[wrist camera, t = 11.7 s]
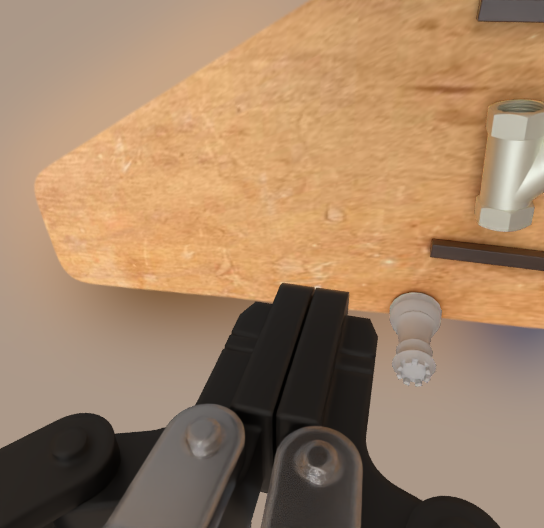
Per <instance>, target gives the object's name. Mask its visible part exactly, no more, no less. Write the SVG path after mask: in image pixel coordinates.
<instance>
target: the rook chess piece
mask: <svg viewBox="0 0 544 528" xmlns="http://www.w3.org/2000/svg"><path fill="white" fill-rule="evenodd" d="M441 315H442V310H441V308H440V305H439V303H438V302H437V301H436V300H435V299H433V298H432V297H430V296H428V295H426V294H423V293H417V292H411V293H407V294H402V295H401V296H399V297H398V298H396V299H395V300H394V301H393V303H392V304H391V306H390V323H391V325H392V327H393V329H394V330H395V331H396V334H397V335H398V339H399V345H398V346H397V349H396V354H397V355H396V356H395V357H394V359H393V362H392V367H393V369H394V371H395V372H396V373H397V377H398V379H401V378H403V383H404V384H406V385H409V384H410V381H411V382H415V386H422V381H425V382H426V383H428V381H429V380H430V377H431V376H432V374H433V373H434V372H435V369H436V364H435V362H434V360H433V358H432V353H433V351H432V349H431V347H430V342H431V338H432V336H433V335H434V334H435V333H436V332H437V330H438V329H439V327H440V324H441Z"/></svg>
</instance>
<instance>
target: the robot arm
mask: <svg viewBox="0 0 544 528" xmlns="http://www.w3.org/2000/svg"><path fill="white" fill-rule="evenodd" d="M348 304H349V292H344V291H337V290H330V289H323V288H316V289H315V288H314V287H308V286H302V285H295V284H288V283H282V284H281V285H280V287H279V290H278V292H277V294H276V297H275V299H274V302H273V304H269V303H262V302H255V303H254V304H252V305H251V306H250V307H249V308H247V309H246V310H245V311H244V312H243V313H242V314H240V316H239V318H238V320H237V322H236V324H235V326H234V328H233V330H232V334H231V335H230V336H229V338H228V340H227V342H226V344H225V349H223V350H222V353H221V354H220V356H219V358H218V361H217V363H216V365H215V367H214V369H213V371H212V373H211V375H210V377H209V379H208V381H207V383H206V385H205V387H204V389H203V391H202V393H201V395H200V397H199V399H198V401H197V403H196V405H195V406H192V407H190V408H187V409H185V410H183V411H182V412H180V413H179V414H178V415H176V416H175V417H174V418H173V419H172V420H171V421H170V422H169V424H168V425H167V426H166V427H165V428H161V429H158V430H152V431H142V432H131V433H118V434H115V433H114V430H113V428H112V426H111V424H110V423H109V422H108V421H107V420H106V419H105V418H103V417H101V416H99V415H96V414H91V413H79V414H74V415H69V416H66V417H64V418H61V419H59V420H57V421H55V422H53V423H51V424H49V425H47V426H45V427H43V428H41V429H39V430H37V431H35V432H33V433H31V434H29V435H27V436H25V437H23V438H21V439H19V440H17V441H15V442H13V443H11V444H9V445H7V446H5V447H3V448H1V449H0V528H251V520H252V517H253V513H254V510H255V507H256V503H257V500H258V496H259V493H260V492H264V493H268V494H267V499H266V504H265V509H264V514H263V519H262V524H261V528H500V527H499V525H498V524H497V523H496V522H495V521H494V520H493V519H492V518H491V517H490V516H489V515H488V514H487V513H486V512H484V511H483V510H482V509H480V508H479V507H477V506H476V505H474V504H472V503H470V502H468V501H466V500H463V499H460V498H457V497H451V496H437V497H432V498H429V499H426V500H424V501H422V500H420V499H418V498H417V497H415V496H413V495H411V494H409V493H408V492H406V491H404V490H402V489H401V488H399V487H397V486H395V485H394V484H392V483H391V482H390V481H389V480H387V479H386V478H385V477H384V476H383V475H382V474H381V473H380V472H379V471H378V470H377V469H376V467H375V466H374V464H373V463H372V461H371V458H370V456H369V454H368V451H367V446H366V432H367V424H368V416H369V407H370V399H371V390H372V381H373V373H374V365H375V357H376V347H377V340H378V336H377V334H376V332H375V329H374V327H373V325H372V323H371V320H370V319H366V318H360V317H354V316H348V315H347V314H348Z"/></svg>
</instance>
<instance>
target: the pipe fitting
mask: <svg viewBox="0 0 544 528" xmlns="http://www.w3.org/2000/svg"><path fill="white" fill-rule="evenodd" d="M486 130H487V132H488V137H487V145H486V152H485V159H484V167H483V174H482V182H481V189H480V194H479V195H478V196H476V202H475V210H474V214H475V218H476V221H477V223H478V225H480V226H482V227H484V228H487V229H490V230H495V231H502V232H511V231H517V230H520V229H523V228H525V227H527V226H529V225H531V223H532V218H533V213H534V208H535V207H534V204H533V202H532V200H534V199H535V198H536V197H538V196H539V195H541V194H542V193H543V192H544V102H542V101H537V100H529V99H513V100H504V101H499V102H496V103H494V104H492V105H490V106H488V111H487V119H486Z"/></svg>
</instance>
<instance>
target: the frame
mask: <svg viewBox="0 0 544 528" xmlns="http://www.w3.org/2000/svg"><path fill="white" fill-rule="evenodd" d="M476 19H477V21H484V22H539V23H544V0H480V2H479V7H478V12H477V17H476ZM430 257H434V258H442V259H451V260H459V261H467V262H475V263H483V264H491V265H499V266H508V267H516V268H524V269H532V270H540V271H544V251H535V250H527V249H518V248H509V247H501V246H492V245H483V244H474V243H466V242H457V241H448V240H439V239H432V243H431V248H430Z"/></svg>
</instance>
